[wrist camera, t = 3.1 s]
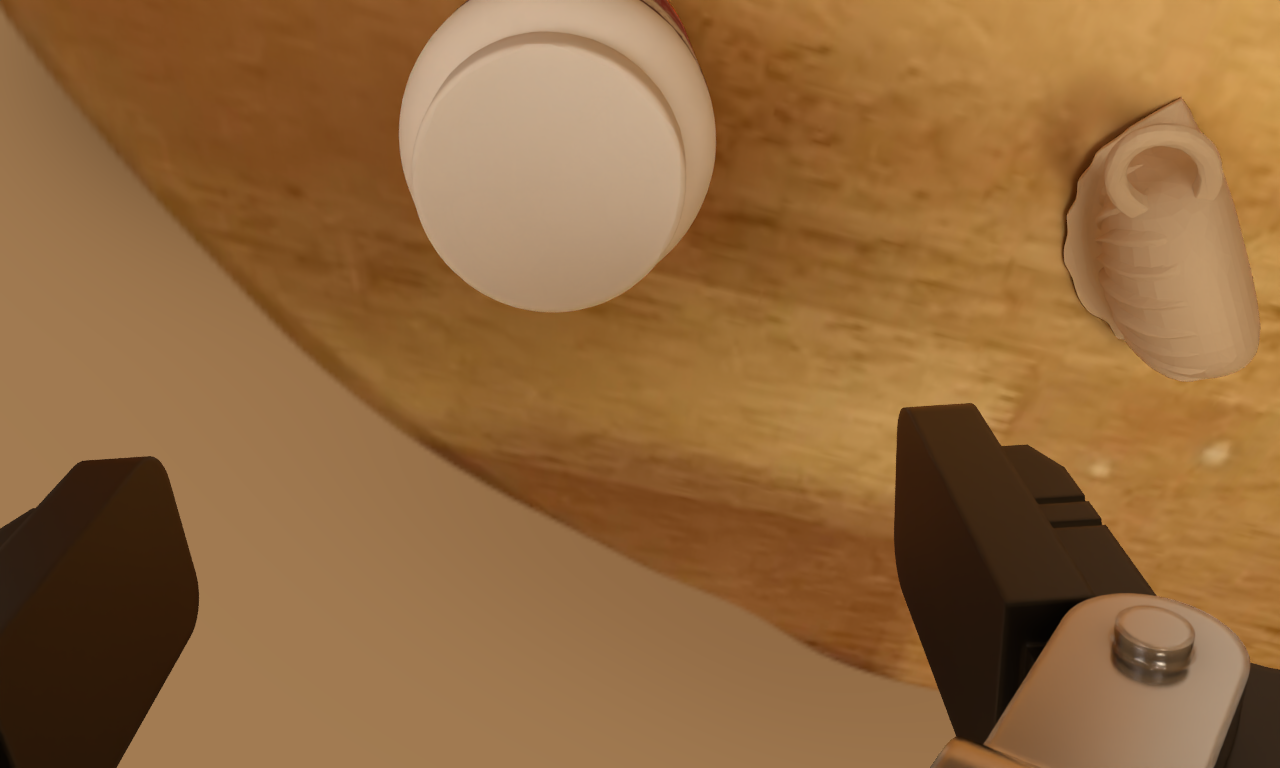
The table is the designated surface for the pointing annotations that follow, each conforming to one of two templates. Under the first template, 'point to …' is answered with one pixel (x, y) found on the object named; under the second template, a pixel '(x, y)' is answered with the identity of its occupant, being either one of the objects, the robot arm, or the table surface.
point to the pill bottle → (557, 146)
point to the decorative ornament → (1165, 249)
